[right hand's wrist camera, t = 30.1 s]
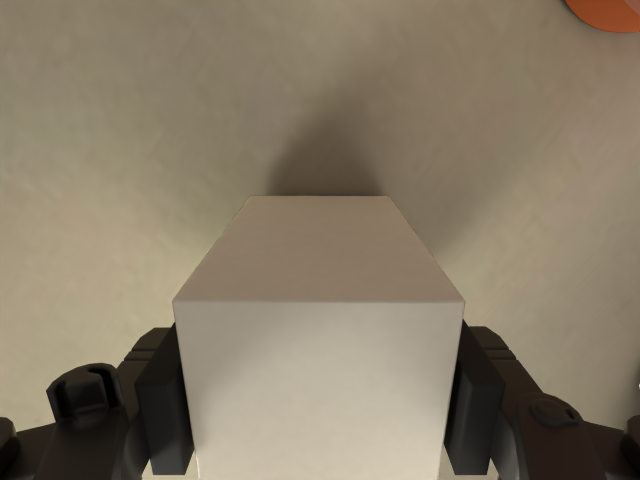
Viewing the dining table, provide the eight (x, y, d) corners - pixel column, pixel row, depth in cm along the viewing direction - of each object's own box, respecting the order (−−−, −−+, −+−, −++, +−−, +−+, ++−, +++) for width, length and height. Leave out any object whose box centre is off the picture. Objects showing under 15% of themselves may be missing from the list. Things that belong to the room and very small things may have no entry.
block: (249, 195, 16) (170, 300, 8) (388, 195, 16) (467, 300, 8) (257, 321, 19) (203, 513, 10) (380, 321, 19) (433, 514, 10)
